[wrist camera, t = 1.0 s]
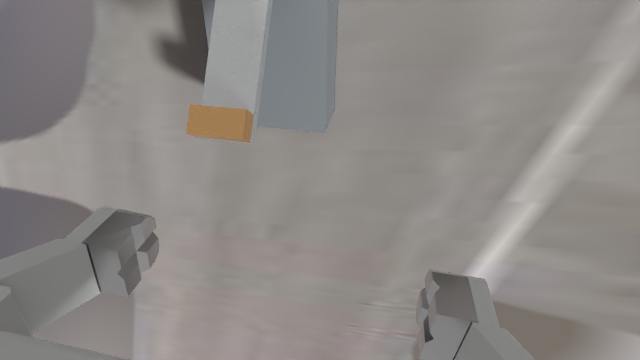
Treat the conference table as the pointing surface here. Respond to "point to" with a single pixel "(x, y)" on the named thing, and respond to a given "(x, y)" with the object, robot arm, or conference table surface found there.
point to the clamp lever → (233, 73)
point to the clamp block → (296, 64)
